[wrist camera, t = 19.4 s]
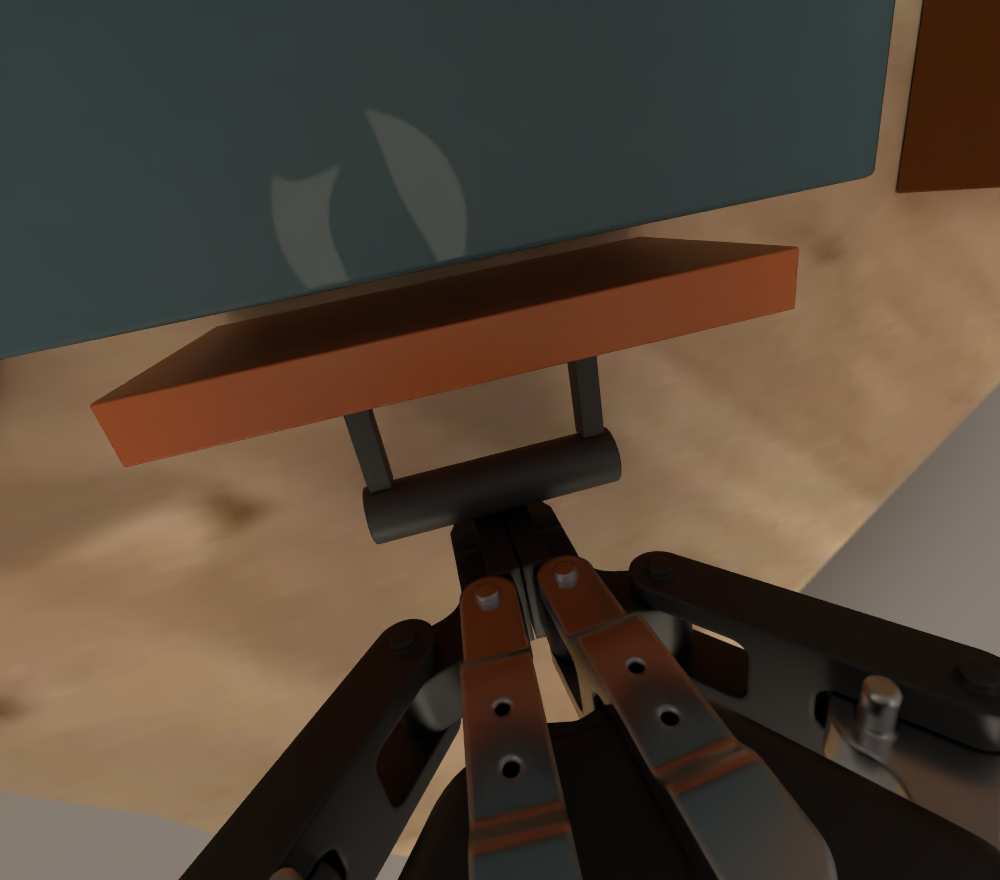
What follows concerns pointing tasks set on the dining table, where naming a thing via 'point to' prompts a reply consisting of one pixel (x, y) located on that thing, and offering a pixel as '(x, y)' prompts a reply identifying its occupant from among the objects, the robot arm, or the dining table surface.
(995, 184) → the bread
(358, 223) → the cabinet
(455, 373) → the drawer
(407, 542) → the dining table surface
